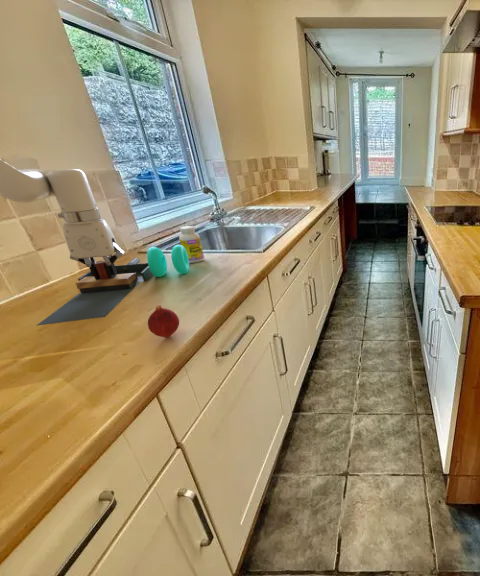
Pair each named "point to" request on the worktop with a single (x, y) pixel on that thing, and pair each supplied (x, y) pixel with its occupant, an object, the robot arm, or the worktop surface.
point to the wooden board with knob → (105, 280)
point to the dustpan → (130, 270)
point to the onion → (163, 322)
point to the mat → (88, 306)
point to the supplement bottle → (191, 244)
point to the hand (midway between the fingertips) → (106, 276)
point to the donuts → (160, 265)
